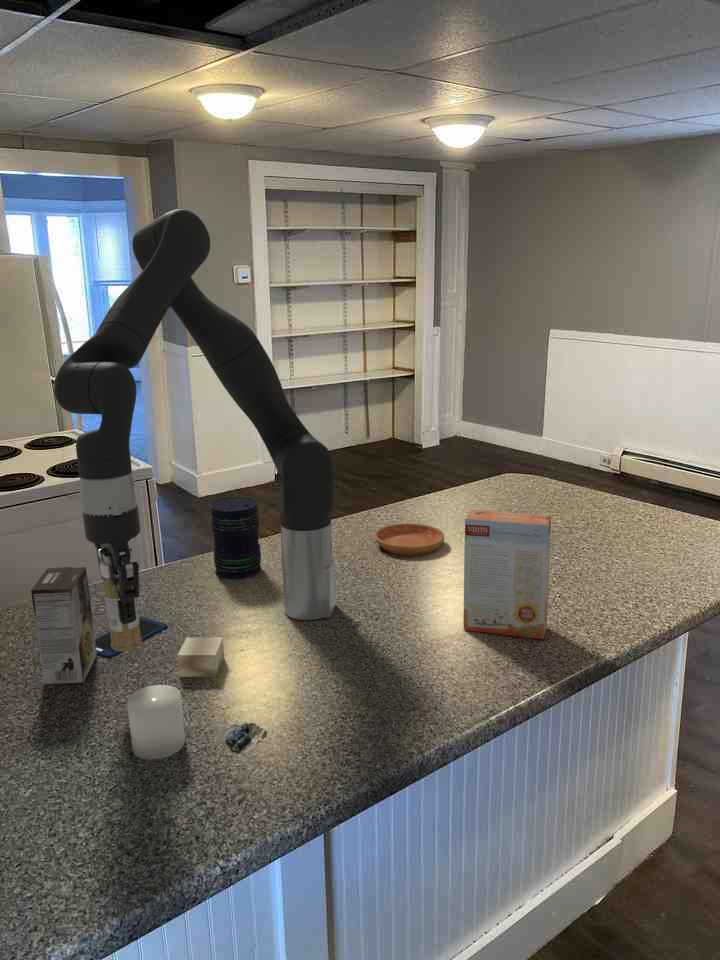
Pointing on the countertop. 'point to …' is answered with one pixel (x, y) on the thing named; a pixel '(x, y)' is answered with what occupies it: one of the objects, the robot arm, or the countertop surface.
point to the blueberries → (242, 735)
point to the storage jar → (236, 538)
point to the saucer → (409, 538)
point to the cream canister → (156, 722)
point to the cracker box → (506, 573)
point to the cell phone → (146, 631)
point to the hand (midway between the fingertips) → (123, 615)
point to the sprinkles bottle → (121, 634)
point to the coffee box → (64, 625)
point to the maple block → (201, 657)
